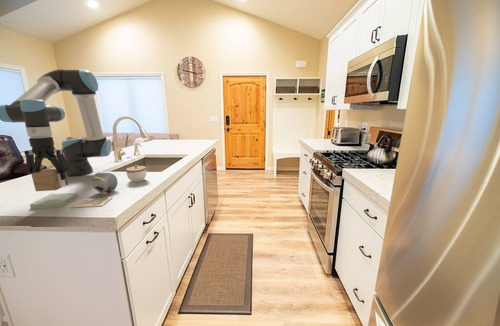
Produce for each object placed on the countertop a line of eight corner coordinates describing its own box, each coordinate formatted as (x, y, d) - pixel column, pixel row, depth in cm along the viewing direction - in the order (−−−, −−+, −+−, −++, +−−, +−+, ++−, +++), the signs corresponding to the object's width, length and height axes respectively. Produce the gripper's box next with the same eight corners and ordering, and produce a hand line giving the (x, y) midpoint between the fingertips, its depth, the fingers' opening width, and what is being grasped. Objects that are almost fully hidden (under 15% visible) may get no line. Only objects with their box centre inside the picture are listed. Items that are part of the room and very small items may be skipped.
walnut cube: (49, 185, 101) (45, 168, 99) (68, 184, 102) (64, 168, 100) (35, 191, 94) (31, 173, 92) (56, 190, 95) (51, 172, 93)
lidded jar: (135, 177, 136) (133, 163, 134) (151, 178, 134) (149, 163, 132) (123, 183, 126) (121, 167, 123) (140, 183, 124) (138, 168, 122)
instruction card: (83, 199, 103) (82, 198, 102) (112, 198, 104) (112, 197, 104) (70, 208, 94) (70, 206, 94) (102, 206, 96) (102, 205, 95)
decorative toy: (97, 182, 118) (73, 189, 98) (107, 167, 118) (85, 170, 98) (116, 193, 120) (97, 202, 100) (126, 178, 120) (109, 183, 100)
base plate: (51, 197, 105) (50, 194, 104) (78, 196, 106) (77, 192, 106) (30, 208, 93) (29, 204, 93) (61, 207, 95) (60, 202, 94)
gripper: (4, 138, 87) (19, 191, 93) (61, 137, 90) (72, 188, 96) (21, 136, 95) (33, 185, 100) (73, 135, 97) (82, 183, 103)
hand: (52, 186), depth 98 cm, fingers closed on walnut cube, 8 cm apart
